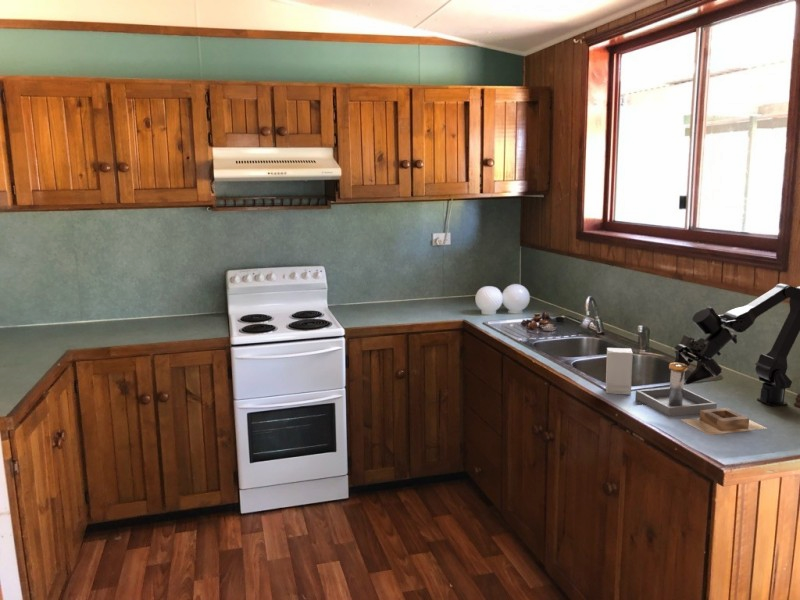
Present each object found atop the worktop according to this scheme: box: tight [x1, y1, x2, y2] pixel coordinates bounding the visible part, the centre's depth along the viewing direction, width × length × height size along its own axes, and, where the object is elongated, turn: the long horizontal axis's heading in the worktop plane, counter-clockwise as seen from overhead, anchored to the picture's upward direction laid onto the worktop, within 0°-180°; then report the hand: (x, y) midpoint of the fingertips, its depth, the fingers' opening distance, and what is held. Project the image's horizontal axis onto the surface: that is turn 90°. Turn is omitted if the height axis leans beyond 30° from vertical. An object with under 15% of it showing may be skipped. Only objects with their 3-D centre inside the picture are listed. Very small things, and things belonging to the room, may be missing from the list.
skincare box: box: [605, 347, 634, 395], centre depth 227 cm, size 8×6×15 cm
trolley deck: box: [681, 407, 768, 436], centre depth 197 cm, size 20×12×4 cm, turn 105°
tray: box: [634, 386, 718, 417], centre depth 213 cm, size 17×17×4 cm
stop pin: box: [668, 362, 688, 406], centre depth 212 cm, size 5×5×13 cm
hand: (678, 378), depth 212 cm, fingers open, 9 cm apart
